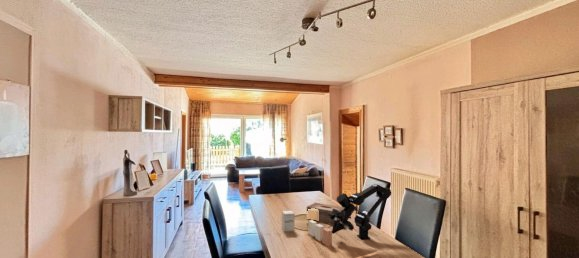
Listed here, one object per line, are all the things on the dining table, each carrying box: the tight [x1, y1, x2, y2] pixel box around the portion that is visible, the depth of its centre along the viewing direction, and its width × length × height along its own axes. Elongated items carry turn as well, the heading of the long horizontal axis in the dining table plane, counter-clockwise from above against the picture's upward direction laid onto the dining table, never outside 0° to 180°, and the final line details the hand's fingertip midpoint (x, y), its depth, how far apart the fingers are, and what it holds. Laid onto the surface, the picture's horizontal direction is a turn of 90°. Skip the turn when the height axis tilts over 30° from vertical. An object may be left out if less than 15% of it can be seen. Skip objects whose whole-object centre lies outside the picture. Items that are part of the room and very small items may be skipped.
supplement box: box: [281, 210, 295, 232], centre depth 180 cm, size 7×7×13 cm
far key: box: [307, 220, 318, 237], centre depth 170 cm, size 3×5×8 cm, turn 28°
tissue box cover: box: [306, 202, 344, 225], centre depth 203 cm, size 26×14×10 cm, turn 57°
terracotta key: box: [322, 227, 333, 247], centre depth 156 cm, size 3×5×8 cm, turn 28°
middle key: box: [314, 223, 325, 242], centre depth 163 cm, size 3×5×8 cm, turn 28°
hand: (332, 233), depth 158 cm, fingers closed
